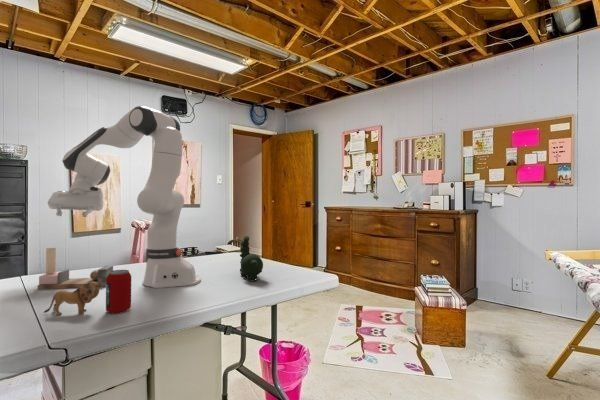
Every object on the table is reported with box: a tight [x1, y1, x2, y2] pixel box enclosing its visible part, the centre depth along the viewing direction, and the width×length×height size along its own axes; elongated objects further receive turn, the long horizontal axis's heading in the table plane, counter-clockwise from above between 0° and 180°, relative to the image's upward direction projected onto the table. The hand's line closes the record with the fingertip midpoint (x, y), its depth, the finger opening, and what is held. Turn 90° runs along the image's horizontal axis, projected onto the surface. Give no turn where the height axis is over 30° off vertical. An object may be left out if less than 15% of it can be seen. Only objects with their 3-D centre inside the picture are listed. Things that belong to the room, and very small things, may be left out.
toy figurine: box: [239, 235, 264, 281], centre depth 147 cm, size 9×19×25 cm
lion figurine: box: [42, 282, 100, 316], centre depth 99 cm, size 15×5×9 cm, turn 103°
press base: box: [36, 265, 114, 290], centre depth 132 cm, size 24×10×6 cm, turn 102°
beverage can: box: [105, 269, 132, 315], centre depth 101 cm, size 7×7×12 cm
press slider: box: [38, 247, 70, 285], centre depth 130 cm, size 7×8×13 cm
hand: (71, 215), depth 141 cm, fingers open, 8 cm apart
